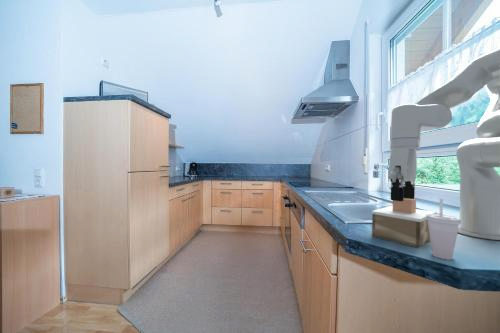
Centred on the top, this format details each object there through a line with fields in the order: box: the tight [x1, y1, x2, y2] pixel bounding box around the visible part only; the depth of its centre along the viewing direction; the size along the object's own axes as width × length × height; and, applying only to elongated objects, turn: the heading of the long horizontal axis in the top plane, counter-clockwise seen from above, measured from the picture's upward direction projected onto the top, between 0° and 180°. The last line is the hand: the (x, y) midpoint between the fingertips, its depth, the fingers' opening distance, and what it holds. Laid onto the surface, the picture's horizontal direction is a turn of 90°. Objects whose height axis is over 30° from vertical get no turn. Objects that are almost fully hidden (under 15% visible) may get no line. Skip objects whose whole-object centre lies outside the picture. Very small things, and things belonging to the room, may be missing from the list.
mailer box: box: [371, 214, 431, 249], centre depth 67 cm, size 16×12×7 cm
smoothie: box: [426, 198, 461, 261], centre depth 52 cm, size 6×6×14 cm
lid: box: [371, 198, 438, 222], centre depth 67 cm, size 16×12×5 cm
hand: (402, 199), depth 67 cm, fingers open, 9 cm apart
